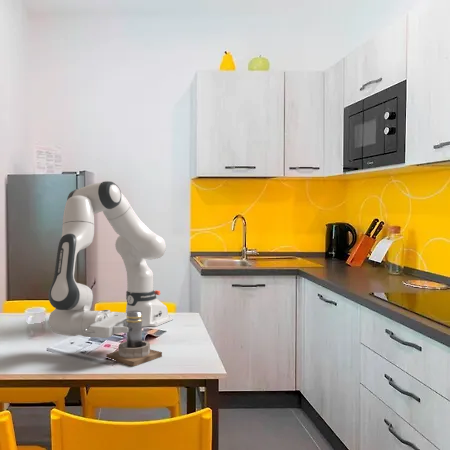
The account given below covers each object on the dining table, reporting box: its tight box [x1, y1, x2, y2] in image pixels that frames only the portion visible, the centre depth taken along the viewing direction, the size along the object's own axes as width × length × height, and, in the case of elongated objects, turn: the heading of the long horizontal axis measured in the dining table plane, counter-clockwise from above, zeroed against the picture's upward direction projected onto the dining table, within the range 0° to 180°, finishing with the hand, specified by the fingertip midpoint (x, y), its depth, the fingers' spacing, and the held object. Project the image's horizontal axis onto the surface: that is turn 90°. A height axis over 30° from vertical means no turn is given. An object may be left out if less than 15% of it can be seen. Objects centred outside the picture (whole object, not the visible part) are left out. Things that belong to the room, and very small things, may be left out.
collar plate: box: [106, 340, 163, 368], centre depth 168 cm, size 13×13×4 cm
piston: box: [126, 310, 143, 348], centre depth 168 cm, size 5×5×14 cm
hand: (134, 326), depth 168 cm, fingers open, 8 cm apart
